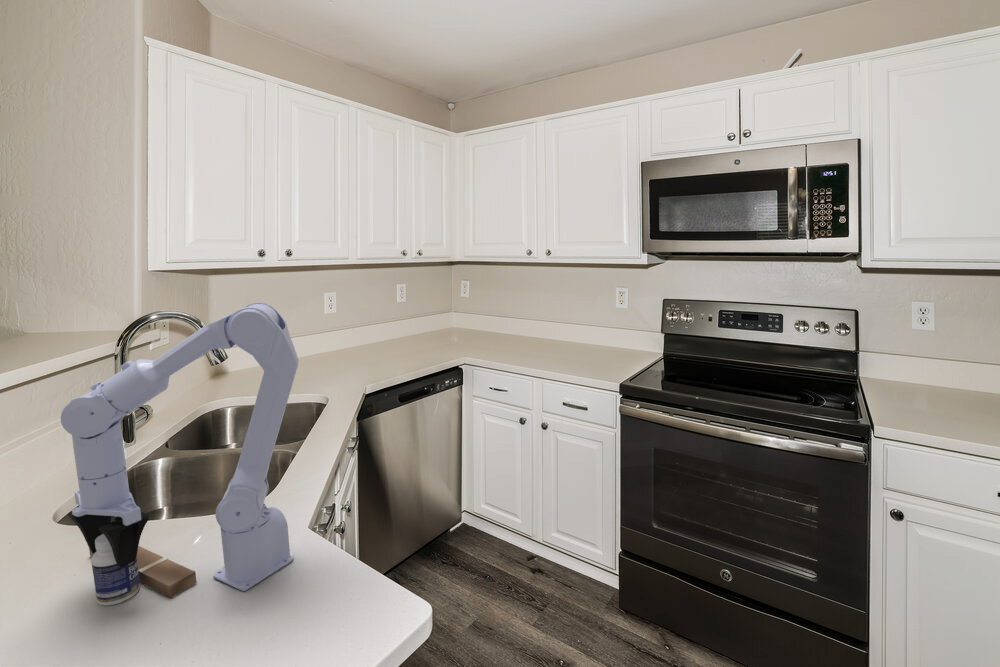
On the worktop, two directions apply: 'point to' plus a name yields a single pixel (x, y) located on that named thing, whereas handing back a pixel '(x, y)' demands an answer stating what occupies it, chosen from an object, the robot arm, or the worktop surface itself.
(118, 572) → the pill bottle
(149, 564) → the striped brown wooden bar
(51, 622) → the worktop surface
